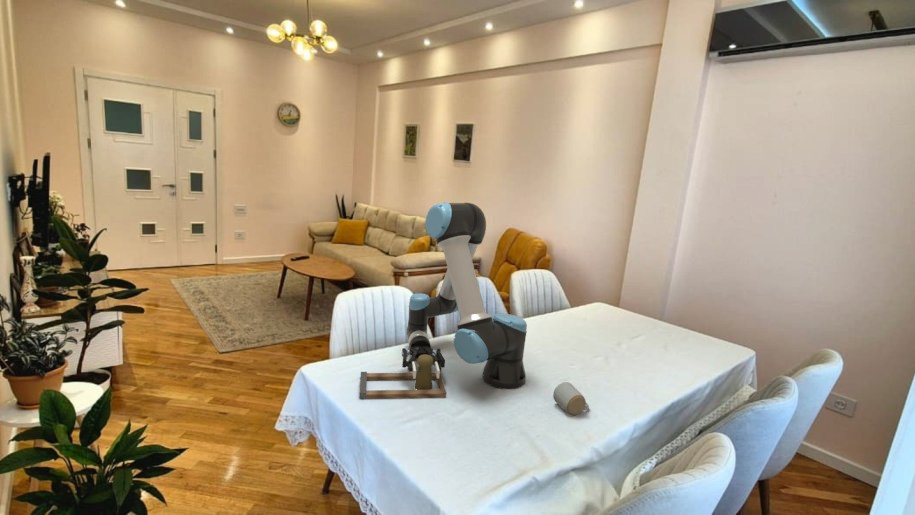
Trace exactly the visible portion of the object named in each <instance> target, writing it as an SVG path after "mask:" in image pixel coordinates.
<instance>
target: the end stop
mask: <svg viewBox="0 0 915 515" xmlns="http://www.w3.org/2000/svg"><path fill="white" fill-rule="evenodd" d="M367 373H368V372H367V371H360V380H359V381H360V382H359V396H358V397H359V400H367V399H366V390H367V382H368V381H367Z"/></svg>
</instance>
